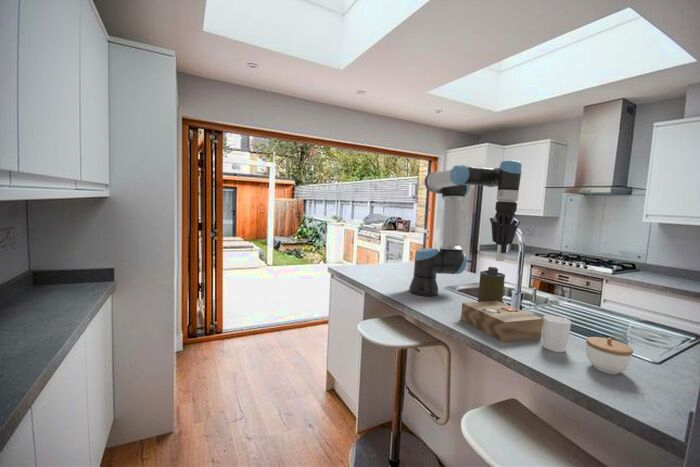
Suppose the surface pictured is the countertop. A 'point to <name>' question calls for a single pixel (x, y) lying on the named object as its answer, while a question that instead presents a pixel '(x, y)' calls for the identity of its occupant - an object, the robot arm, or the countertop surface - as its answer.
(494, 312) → the white glossy ovoid
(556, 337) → the white cup
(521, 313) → the walnut block
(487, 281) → the canister
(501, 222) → the robot arm
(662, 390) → the countertop surface
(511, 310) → the terracotta plug
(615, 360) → the lidded jar
